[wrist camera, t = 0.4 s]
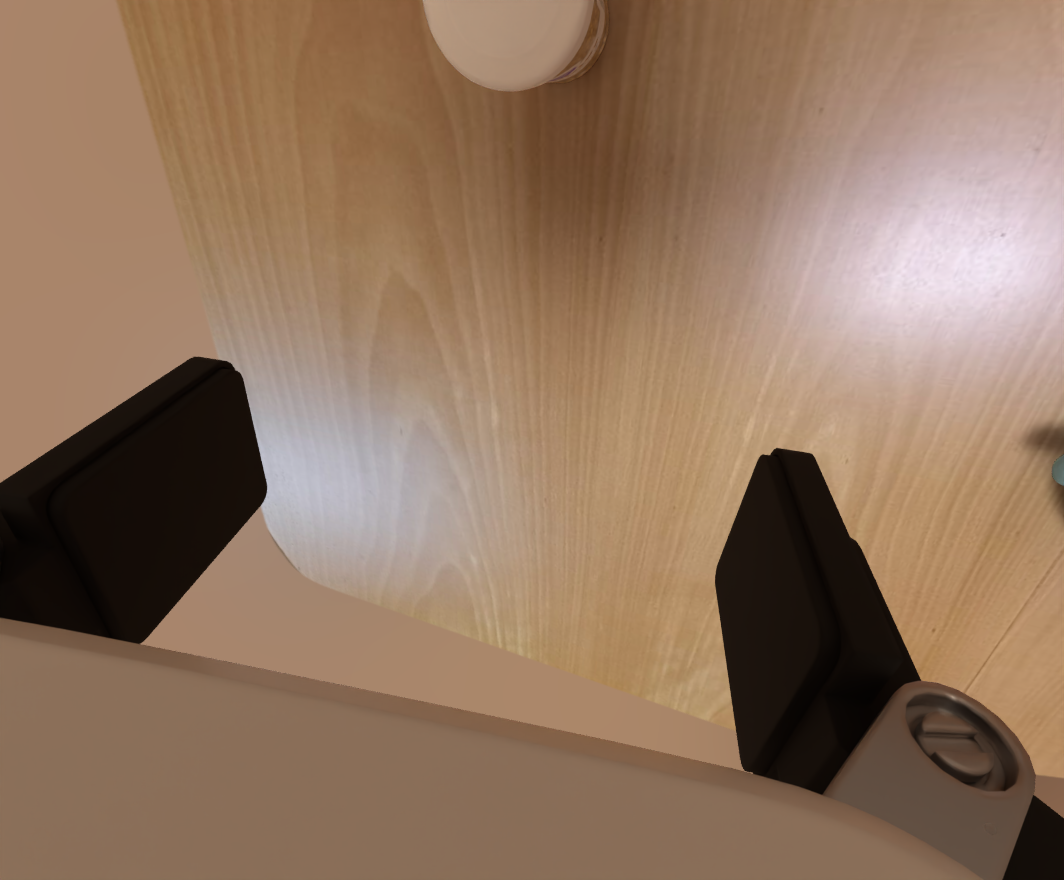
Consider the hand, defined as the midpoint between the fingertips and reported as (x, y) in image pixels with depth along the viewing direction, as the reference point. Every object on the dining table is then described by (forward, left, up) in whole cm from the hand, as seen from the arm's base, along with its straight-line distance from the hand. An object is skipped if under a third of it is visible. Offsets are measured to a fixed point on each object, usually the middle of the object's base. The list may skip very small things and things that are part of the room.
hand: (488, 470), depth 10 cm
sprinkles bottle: (-7, +3, -24) cm, 25 cm away
